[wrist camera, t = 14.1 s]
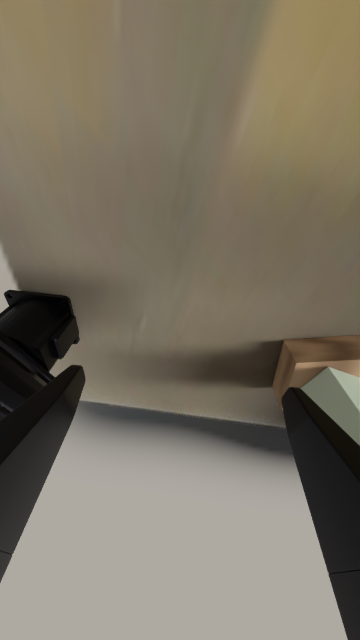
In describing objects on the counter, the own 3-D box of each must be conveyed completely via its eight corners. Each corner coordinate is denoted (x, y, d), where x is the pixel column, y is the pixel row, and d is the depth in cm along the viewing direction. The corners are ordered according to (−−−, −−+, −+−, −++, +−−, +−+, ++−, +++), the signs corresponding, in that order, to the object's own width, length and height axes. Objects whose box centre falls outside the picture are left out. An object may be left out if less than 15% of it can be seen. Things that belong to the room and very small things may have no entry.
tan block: (271, 384, 30) (281, 409, 27) (282, 337, 25) (296, 363, 22) (337, 381, 29) (355, 407, 26) (363, 332, 24) (390, 358, 21)
